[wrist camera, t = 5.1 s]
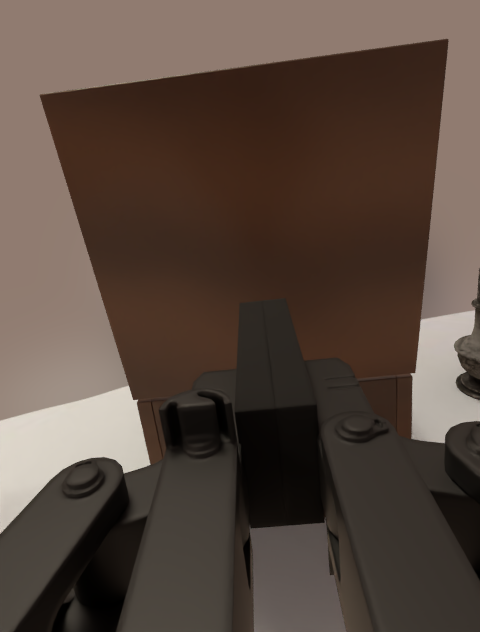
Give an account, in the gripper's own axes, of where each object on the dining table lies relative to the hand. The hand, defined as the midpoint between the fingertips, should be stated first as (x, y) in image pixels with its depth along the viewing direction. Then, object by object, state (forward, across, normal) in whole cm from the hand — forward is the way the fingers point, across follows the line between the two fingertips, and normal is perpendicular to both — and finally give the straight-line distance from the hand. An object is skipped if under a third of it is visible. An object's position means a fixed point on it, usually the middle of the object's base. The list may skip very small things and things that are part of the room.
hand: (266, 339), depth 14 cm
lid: (+6, 0, +2) cm, 6 cm away
